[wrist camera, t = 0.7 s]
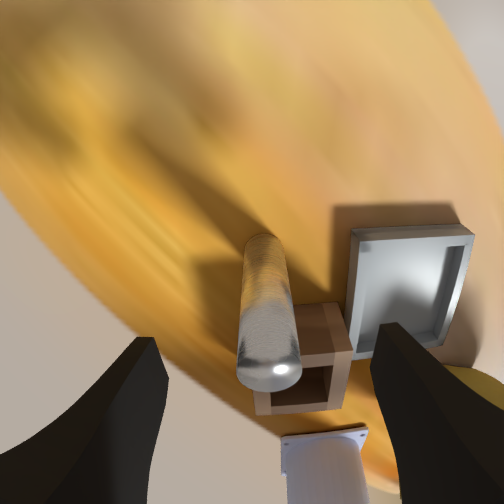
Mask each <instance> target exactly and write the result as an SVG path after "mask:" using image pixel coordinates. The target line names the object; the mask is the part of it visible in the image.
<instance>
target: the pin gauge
mask: <svg viewBox="0 0 504 504" xmlns="http://www.w3.org/2000/svg"><path fill="white" fill-rule="evenodd" d="M236 374H237V377H238V379H239V381H240V382H241V383H242V384H243V385H244V386H246V387H248V388H250V389H252V390H255V391H260V392H276V391H281V390H284V389H287V388H289V387H290V386H292V385H294V384H295V383H296V382H297V381H298V380H299V378H300V377H301V374H302V363H301V356H300V349H299V343H298V336H297V329H296V322H295V316H294V309H293V303H292V297H291V290H290V284H289V278H288V272H287V266H286V260H285V254H284V248H283V245H282V243H281V241H280V240H279V239H278V238H276V237H275V236H273V235H270V234H259V235H256V236H254V237H252V238H251V239H250V240H249V241H248V242H247V244H246V246H245V250H244V264H243V278H242V293H241V307H240V322H239V337H238V352H237V367H236Z"/></svg>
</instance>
